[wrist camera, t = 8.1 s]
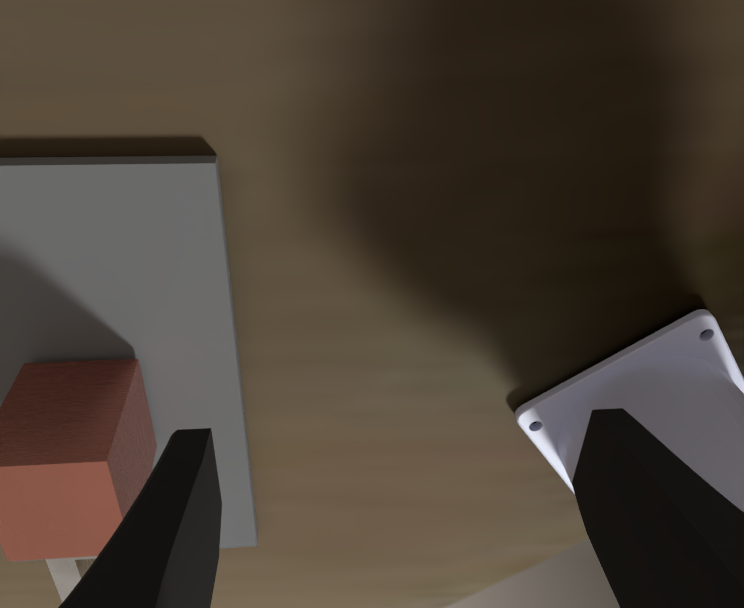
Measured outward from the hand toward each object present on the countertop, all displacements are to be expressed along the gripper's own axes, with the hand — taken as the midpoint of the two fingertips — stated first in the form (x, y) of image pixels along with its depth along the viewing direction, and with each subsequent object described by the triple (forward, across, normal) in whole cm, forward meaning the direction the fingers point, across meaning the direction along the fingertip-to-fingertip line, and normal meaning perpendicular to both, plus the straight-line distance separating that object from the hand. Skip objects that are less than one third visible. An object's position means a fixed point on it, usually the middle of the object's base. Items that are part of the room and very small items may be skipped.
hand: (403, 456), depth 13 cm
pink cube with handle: (+9, +9, +10) cm, 16 cm away
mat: (+10, +9, +6) cm, 15 cm away
